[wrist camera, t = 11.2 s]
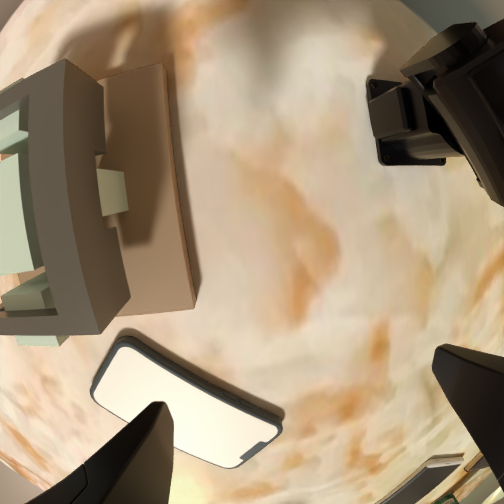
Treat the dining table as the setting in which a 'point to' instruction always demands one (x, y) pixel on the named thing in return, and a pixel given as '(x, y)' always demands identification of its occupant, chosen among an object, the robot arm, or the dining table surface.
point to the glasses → (67, 204)
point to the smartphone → (422, 481)
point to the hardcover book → (477, 463)
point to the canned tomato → (446, 499)
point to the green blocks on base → (106, 202)
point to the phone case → (183, 405)
